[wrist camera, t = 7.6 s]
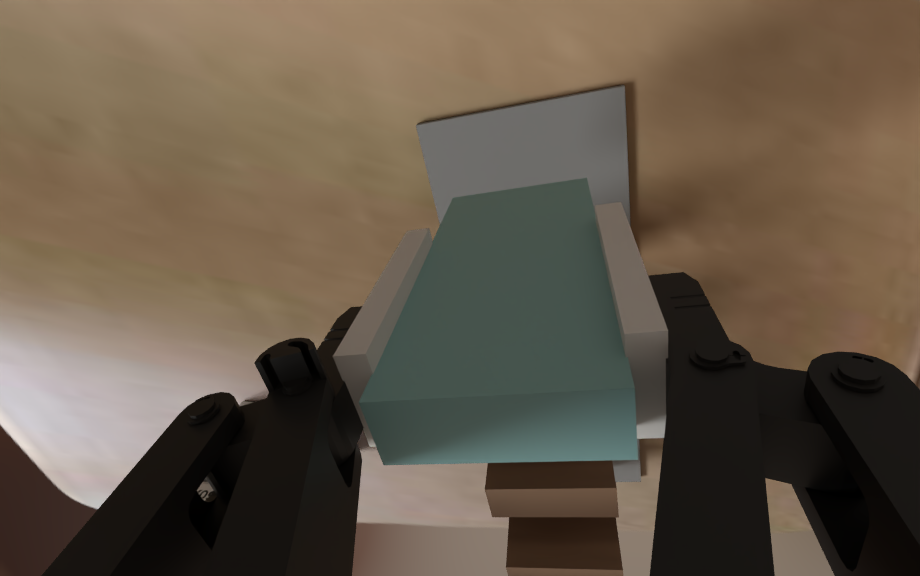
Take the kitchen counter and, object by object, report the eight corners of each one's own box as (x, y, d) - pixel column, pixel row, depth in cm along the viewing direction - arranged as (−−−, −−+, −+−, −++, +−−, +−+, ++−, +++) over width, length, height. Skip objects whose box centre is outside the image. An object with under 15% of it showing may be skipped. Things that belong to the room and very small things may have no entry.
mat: (417, 123, 25) (415, 125, 25) (623, 84, 23) (624, 85, 22) (503, 479, 38) (503, 483, 37) (639, 476, 36) (640, 481, 35)
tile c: (503, 326, 30) (484, 489, 20) (591, 319, 29) (616, 488, 19) (508, 350, 31) (492, 517, 21) (593, 343, 30) (618, 517, 20)
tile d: (517, 394, 33) (506, 567, 23) (597, 389, 31) (622, 570, 22) (521, 414, 34) (512, 589, 24) (599, 410, 32) (624, 592, 23)
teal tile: (452, 197, 20) (358, 402, 10) (586, 177, 18) (634, 387, 9) (461, 238, 20) (383, 464, 11) (590, 221, 19) (637, 459, 9)
